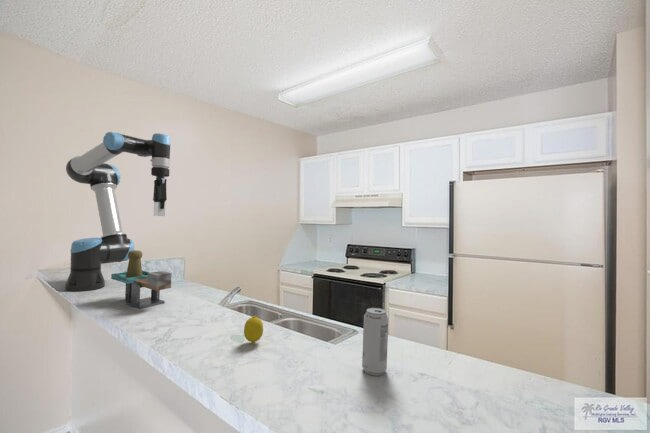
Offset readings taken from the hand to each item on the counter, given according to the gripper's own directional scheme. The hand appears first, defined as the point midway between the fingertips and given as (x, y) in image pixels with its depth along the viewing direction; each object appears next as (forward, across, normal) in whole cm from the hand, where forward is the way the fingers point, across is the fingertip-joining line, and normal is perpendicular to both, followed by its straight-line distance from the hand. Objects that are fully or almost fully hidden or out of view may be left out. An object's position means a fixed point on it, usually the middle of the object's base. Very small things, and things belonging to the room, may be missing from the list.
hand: (159, 215), depth 150 cm
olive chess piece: (+26, +11, -11) cm, 30 cm away
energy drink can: (+36, +112, +27) cm, 121 cm away
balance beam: (+28, +19, -9) cm, 35 cm away
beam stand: (+35, +17, -9) cm, 40 cm away
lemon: (+36, +80, +10) cm, 88 cm away
